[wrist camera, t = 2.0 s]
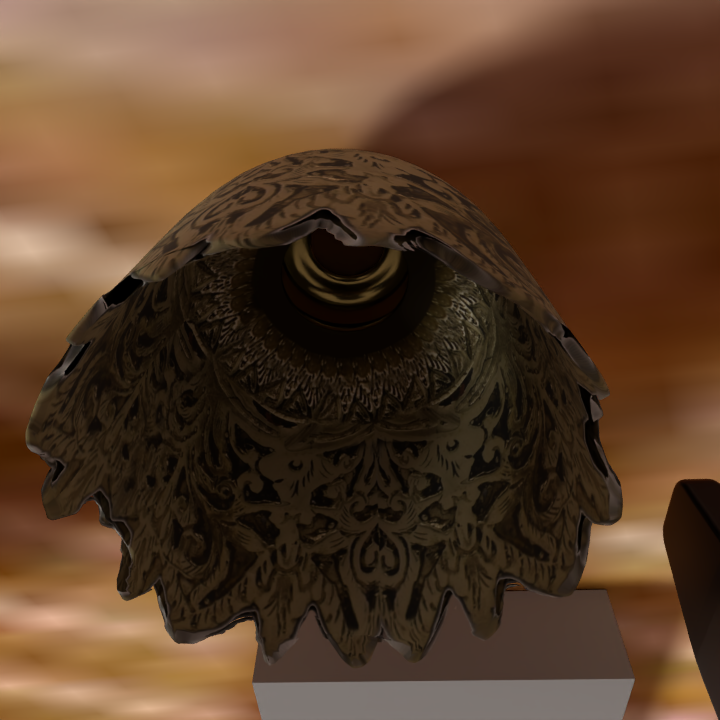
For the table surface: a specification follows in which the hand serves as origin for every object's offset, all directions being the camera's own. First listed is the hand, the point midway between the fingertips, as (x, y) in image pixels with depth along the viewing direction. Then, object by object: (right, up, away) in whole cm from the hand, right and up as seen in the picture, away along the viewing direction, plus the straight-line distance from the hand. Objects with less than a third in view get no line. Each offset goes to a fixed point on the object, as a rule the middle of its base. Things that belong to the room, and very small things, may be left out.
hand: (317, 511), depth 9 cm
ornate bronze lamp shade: (0, +5, +7) cm, 8 cm away
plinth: (+3, -10, +17) cm, 20 cm away
